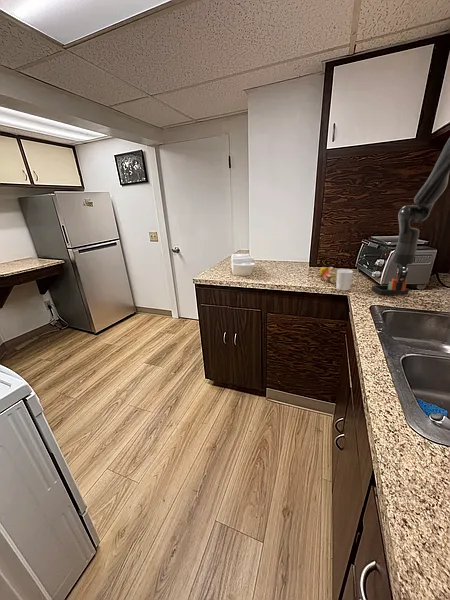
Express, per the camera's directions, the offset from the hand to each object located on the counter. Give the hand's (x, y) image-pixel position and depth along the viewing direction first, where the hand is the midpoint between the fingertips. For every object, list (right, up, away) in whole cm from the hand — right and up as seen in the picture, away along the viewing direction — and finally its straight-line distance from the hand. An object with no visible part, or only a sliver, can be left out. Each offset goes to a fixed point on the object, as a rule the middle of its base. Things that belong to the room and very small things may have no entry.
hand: (397, 288), depth 117 cm
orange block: (0, 0, 0) cm, 0 cm away
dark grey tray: (+3, -1, +11) cm, 11 cm away
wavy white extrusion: (-69, +16, +65) cm, 96 cm away
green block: (+6, -1, +11) cm, 12 cm away
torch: (-18, +7, +36) cm, 41 cm away
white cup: (-17, +1, +19) cm, 25 cm away
